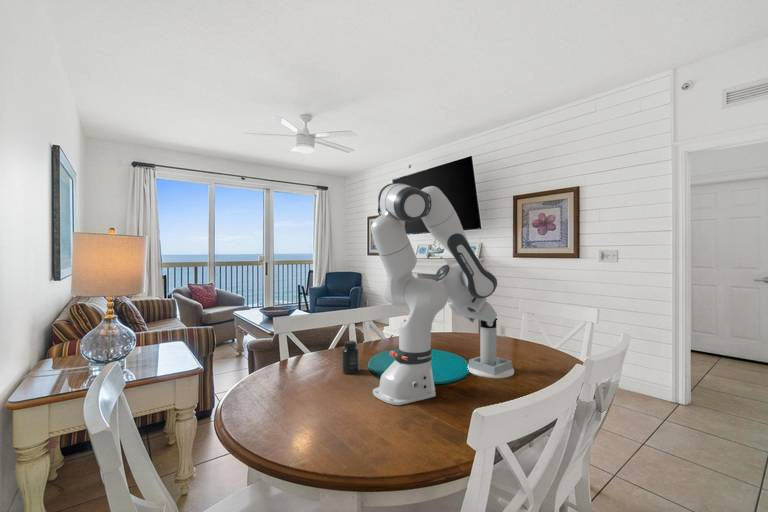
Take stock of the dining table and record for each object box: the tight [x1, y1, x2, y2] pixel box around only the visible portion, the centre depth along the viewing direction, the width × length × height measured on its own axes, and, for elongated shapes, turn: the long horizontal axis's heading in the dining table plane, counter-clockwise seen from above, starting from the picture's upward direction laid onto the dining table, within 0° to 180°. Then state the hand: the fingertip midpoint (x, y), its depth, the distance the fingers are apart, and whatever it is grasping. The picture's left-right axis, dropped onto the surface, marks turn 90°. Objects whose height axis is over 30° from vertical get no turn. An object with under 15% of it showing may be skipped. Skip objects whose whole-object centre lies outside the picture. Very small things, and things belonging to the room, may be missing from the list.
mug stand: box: [466, 356, 515, 380], centre depth 143 cm, size 18×18×4 cm
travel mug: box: [479, 317, 498, 366], centre depth 143 cm, size 6×7×20 cm
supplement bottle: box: [341, 340, 360, 375], centre depth 143 cm, size 7×7×12 cm
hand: (481, 322), depth 141 cm, fingers open, 8 cm apart
